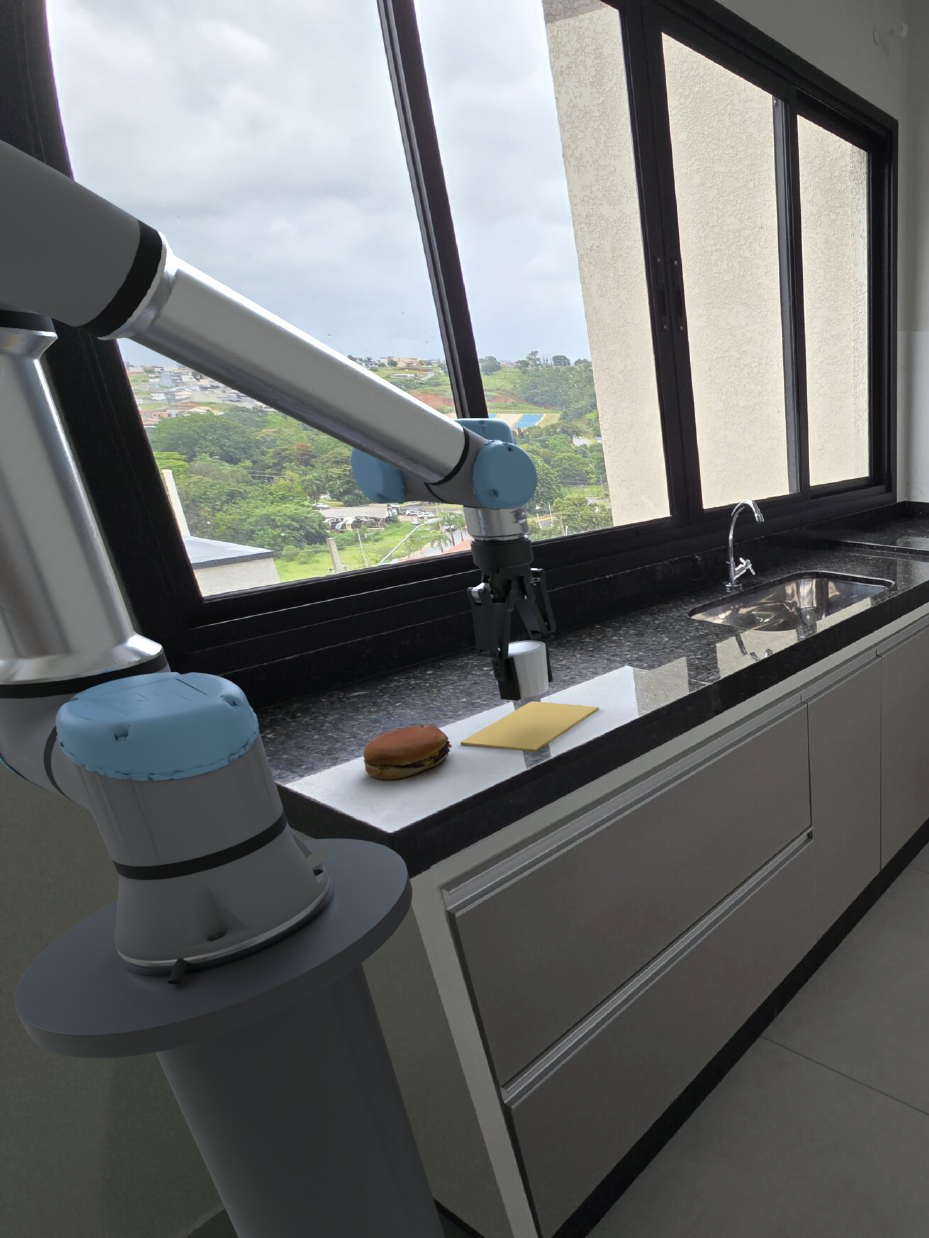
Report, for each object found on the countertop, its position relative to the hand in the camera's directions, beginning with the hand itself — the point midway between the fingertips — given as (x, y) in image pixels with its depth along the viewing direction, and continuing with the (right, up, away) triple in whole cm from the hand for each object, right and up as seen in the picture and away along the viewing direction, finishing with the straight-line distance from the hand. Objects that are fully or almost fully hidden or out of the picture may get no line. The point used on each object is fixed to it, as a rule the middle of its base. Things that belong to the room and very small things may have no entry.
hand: (527, 689), depth 111 cm
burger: (-10, -10, -10) cm, 18 cm away
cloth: (0, -6, +2) cm, 6 cm away
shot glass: (0, 0, 0) cm, 0 cm away
